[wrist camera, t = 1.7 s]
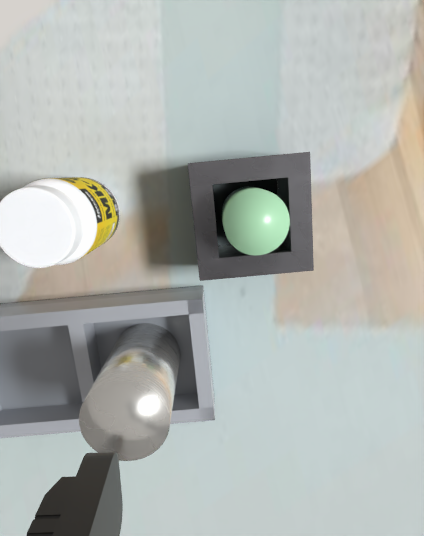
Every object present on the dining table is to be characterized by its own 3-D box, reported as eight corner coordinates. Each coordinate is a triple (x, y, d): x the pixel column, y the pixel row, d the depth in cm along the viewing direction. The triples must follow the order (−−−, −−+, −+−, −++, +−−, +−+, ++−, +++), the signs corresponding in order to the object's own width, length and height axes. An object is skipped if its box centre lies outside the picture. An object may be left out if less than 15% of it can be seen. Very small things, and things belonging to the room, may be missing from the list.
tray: (203, 285, 28) (202, 298, 26) (214, 396, 31) (214, 419, 28) (-29, 306, 29) (-56, 321, 26) (-2, 414, 31) (-24, 440, 28)
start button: (274, 183, 25) (288, 186, 21) (277, 238, 26) (291, 252, 22) (218, 188, 25) (221, 192, 21) (223, 243, 26) (226, 258, 22)
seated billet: (176, 320, 28) (164, 377, 20) (183, 380, 29) (174, 457, 21) (109, 326, 28) (71, 385, 20) (119, 386, 29) (86, 464, 22)
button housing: (295, 154, 26) (310, 151, 22) (299, 256, 28) (313, 270, 24) (191, 164, 26) (187, 163, 23) (201, 265, 28) (199, 280, 24)
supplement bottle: (135, 210, 27) (103, 227, 19) (92, 259, 28) (44, 295, 20) (80, 161, 26) (22, 157, 18) (37, 213, 27) (-36, 232, 19)
